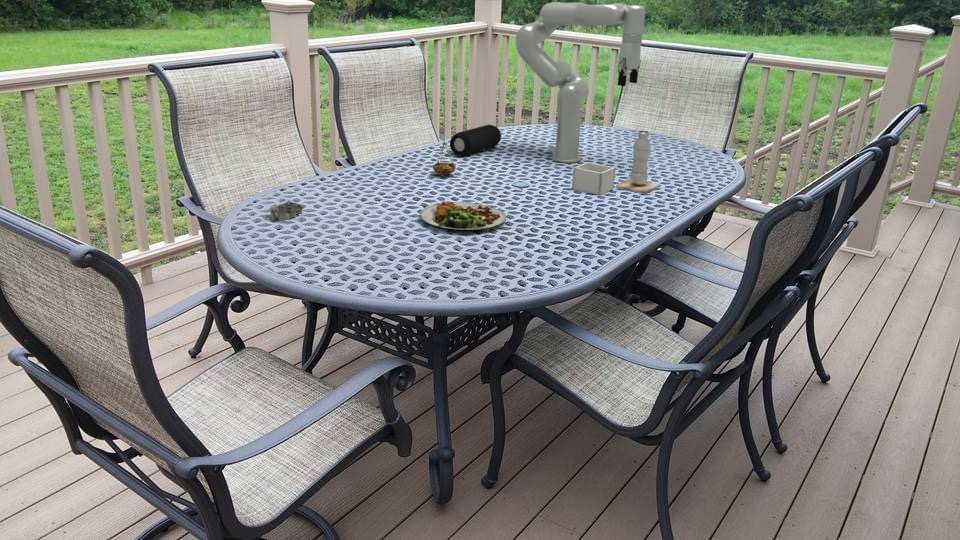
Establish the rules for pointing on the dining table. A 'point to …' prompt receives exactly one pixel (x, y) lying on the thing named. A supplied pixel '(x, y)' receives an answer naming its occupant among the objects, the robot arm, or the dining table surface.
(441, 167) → the bird feeder
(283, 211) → the dark grey rough lump
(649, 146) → the plastic bottle
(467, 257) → the dining table surface
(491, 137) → the portable speaker
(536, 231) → the dining table surface
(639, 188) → the pad
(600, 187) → the bin
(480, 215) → the plate of food
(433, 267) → the dining table surface
